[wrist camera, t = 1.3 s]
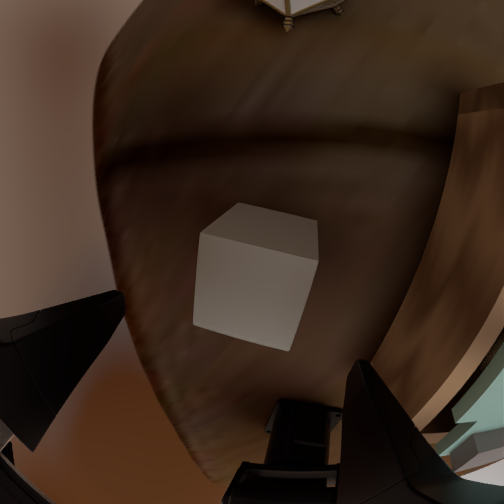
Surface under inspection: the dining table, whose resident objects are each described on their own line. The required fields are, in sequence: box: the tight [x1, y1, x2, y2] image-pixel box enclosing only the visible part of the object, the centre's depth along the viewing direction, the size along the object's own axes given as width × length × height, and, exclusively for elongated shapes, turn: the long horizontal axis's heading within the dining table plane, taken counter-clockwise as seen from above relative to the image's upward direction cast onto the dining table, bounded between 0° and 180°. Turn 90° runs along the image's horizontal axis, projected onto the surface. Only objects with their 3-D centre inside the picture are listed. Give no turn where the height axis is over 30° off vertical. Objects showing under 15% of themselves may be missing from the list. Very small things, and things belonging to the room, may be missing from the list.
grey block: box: [193, 203, 319, 351], centre depth 14 cm, size 5×5×6 cm
